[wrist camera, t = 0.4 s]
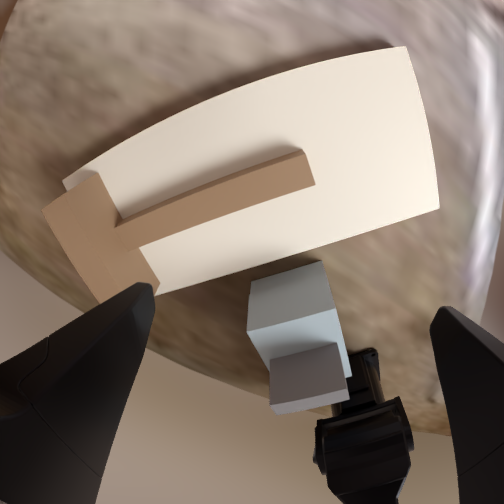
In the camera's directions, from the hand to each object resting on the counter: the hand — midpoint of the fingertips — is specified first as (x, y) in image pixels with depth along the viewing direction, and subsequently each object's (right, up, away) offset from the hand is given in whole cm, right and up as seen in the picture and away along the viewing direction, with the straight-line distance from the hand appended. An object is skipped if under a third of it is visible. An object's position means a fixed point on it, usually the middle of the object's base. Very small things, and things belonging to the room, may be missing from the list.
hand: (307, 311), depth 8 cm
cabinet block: (+3, -3, +17) cm, 18 cm away
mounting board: (-2, +7, +12) cm, 14 cm away
